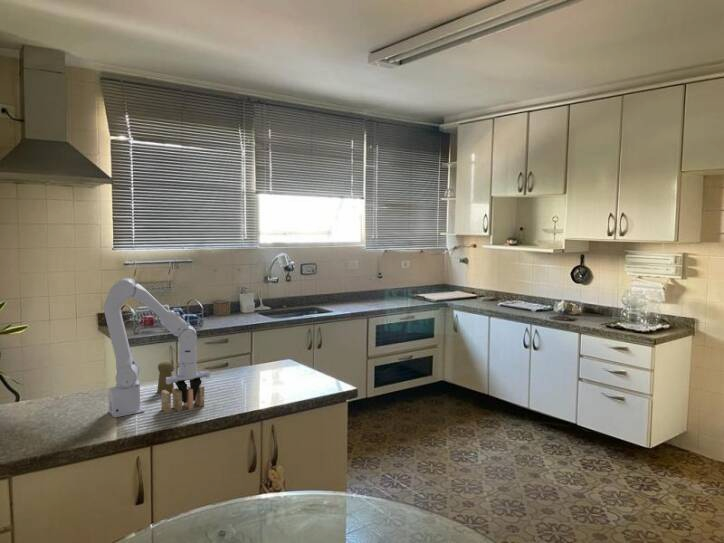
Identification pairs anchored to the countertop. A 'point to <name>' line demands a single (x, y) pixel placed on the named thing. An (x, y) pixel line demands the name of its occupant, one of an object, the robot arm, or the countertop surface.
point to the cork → (164, 377)
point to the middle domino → (177, 399)
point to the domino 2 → (189, 397)
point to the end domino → (200, 396)
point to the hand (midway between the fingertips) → (188, 401)
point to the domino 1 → (166, 401)
